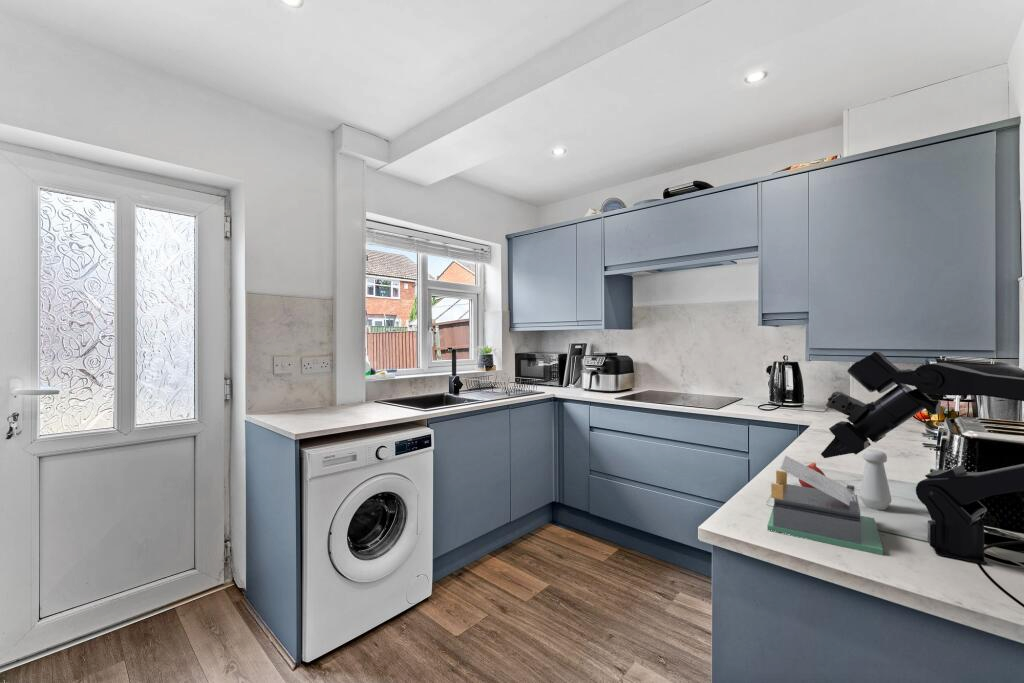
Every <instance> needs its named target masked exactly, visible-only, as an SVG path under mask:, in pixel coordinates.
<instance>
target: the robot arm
mask: <svg viewBox="0 0 1024 683" xmlns="http://www.w3.org/2000/svg"><path fill="white" fill-rule="evenodd" d="M846 372H847V373H848V374H849V375H850V376H851V377H852V378H853V379H854V380H856V381H857V382H858V383H859V384H860V385H861V386H862V387H863V388H864V389H865V390H867V391H868V392H869V393H874V392H877V393H878V394H882V393H885V392H886V393H885V394H883V395H882V396H881V397H879V398H878V399H876V400H874V401H871V402H869V403H864V402H862V401H861V400H858V399H856V398H854V397H853V396H850V395H848V394H845V393H843V392H840V391H835V392H832V394H831V396H830V397H828V398H827V403H826V404H825V407H827V408H829V409H833V410H834V411H838V412H839V413H842V415H846V416H847V417H846V420H848V421H843V420H841V421H839V422H836V423H835V424H833V425H832V426H831V427H829V428H828V430H829V431H830V433H832V435H833V436H834V438H833V439H832V440H831V441H830V443H828V445H827V446H826V447H825V448H824V450H823V451H822V452H821V453H820V455H821V457H823V459H828V458H829V459H830V458H834V457H839V456H845V455H850V454H854V455H858V454H859V453H861V452H864V451H865V450H867V448H868V447H870V446H871V445H872V443H874V444H875V443H877V442H879V441H880V440H882V439H884V438H885V437H886V436H887V435H888V433H890V432H891V431H893V430H894V429H896V428H898V427H899V426H900V425H902V424H904V423H906V422H907V421H908V420H910V419H911V418H913V417H915V416H916V415H917V414H919V413H920V412H922V411H924V410H926V411H928V412H929V413H930V414H931V415H939V414H941V413H942V412H941V411H942V410H941V403H942V400H940V399H932V398H931V397H929V395H931V396H983V397H992V398H997V399H998V398H999V399H1005V400H1012V401H1020V402H1024V377H1020V376H1019V377H1017V376H1009V375H999V374H991V373H987V372H983V371H979V370H975V369H973V368H968V367H966V366H965V367H964V366H960V365H956V364H951V363H947V362H936V363H934V362H933V363H926V364H922V365H920V366H918V367H916V368H915V369H914V370H913V369H910V368H909V369H908V368H907V369H900V368H899V367H897V366H896V365H895V364H893V363H892V362H891V361H890V360H889V359H887V358H886V356H885V355H884V354H883V353H881V351H873V352H872V353H871V354H870V355H867V356H866V357H864V358H861V359H860V360H858V361H855V362H854V363H853V364H852V365H851V366H850V367H849V368H848V369H847V370H846ZM895 385H896V386H895ZM894 386H895V387H894ZM909 386H912V387H915V389H912V388H911V387H909ZM889 389H890V390H889ZM888 390H889V391H888ZM887 391H888V392H887ZM886 434H887V435H886ZM870 441H871V442H872V443H871V442H870ZM924 476H925V478H924V479H922V480H920V481H918V482H917V484H916V487H915V494H916V497H917V499H918V500H919V501H920V502H921V503H922V505H924V506H925V507H926V510H927V512H928V514H929V516H930V519H928V520H927V542H928V544H929V546H930V547H931V548H932V549H933V551H934V553H935V554H936V555H938V556H942V557H948V558H953V559H958V560H962V561H967V562H972V563H978V564H981V563H982V565H988V562H989V561H988V560H987V558H986V557H985V525H984V524H983V522H982V521H980V519H983V518H984V516H985V515H986V512H987V511H988V508H987V507H986V506H985V505H984V504H982V503H981V502H980V501H981V500H982V499H985V498H988V497H991V496H998V495H1004V494H1011V493H1016V492H1023V491H1024V463H1020V464H1016V465H1011V466H1006V467H1001V468H996V469H991V470H986V471H979V472H978V471H977V472H976V471H975V472H974V471H966V468H965V466H964V465H963V464H961V465H958V466H955V467H953V468H950V469H937V470H934V471H932V472H930V473H927V474H925V475H924Z"/></svg>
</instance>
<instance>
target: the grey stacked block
mask: <svg viewBox="0 0 1024 683" xmlns="http://www.w3.org/2000/svg"><path fill="white" fill-rule="evenodd" d="M787 474H788V473H787V472H786V471H784V470H777V469H776V471H775V479H776V480H775V482H776V483H773V482H772V483H770V484H771V491H770V492H771V495H770V496H771V499H773V502H774V503H773V507H772V509H773V526H775V527H780V528H784V529H789V530H794V531H799V532H804V533H808V534H813V535H818V536H823V537H828V538H832V539H837V540H842V541H847V542H852V543H856V544H861V519H860V516H861V511H860V505H859V501H858V495H857V494H855V497H856V501H850V500H849V502H850V506H849V505H847V504H845V503H843V502H841V501H839V500H838V499H836V498H834V497H832V496H830V495H828V494H826V493H825V492H823V491H821V490H819V489H815V488H809V487H802V486H801V485H795V484H789V483H788V482H787V481H788V475H787ZM787 483H788V484H787ZM846 487H847V488H849V489H853V490H854V491H855V485H850V484H847V485H846Z"/></svg>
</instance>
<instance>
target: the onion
mask: <svg viewBox="0 0 1024 683" xmlns="http://www.w3.org/2000/svg"><path fill="white" fill-rule="evenodd" d="M806 466H807V467H809V468H811V469H813V470H815V471H816V472H818V473H820V474H822V475H824V476H826V474H825V473H824V471H822V470H821V469H820V468H819V467H818V466H817V463H816V462H810V464H809V465H806ZM798 483H799V484H800V486H802V487H809V488H815V487H813V486H812V485H810V484H808V483H806V482H804V481H802V480H800V479H799V478H798ZM815 489H817V488H815Z"/></svg>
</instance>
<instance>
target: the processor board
mask: <svg viewBox="0 0 1024 683" xmlns="http://www.w3.org/2000/svg"><path fill="white" fill-rule="evenodd" d="M771 510H772V511H771V513H770V516H769V520H768V523H767V531H768V530H772V531H771V532H773V531H776V532H775V533H777V532H781V533H780V534H782V533H786V534H785V535H787V534H790V535H789V536H791V535H794V536H793V537H796V536H798V537H797V538H801V537H802V538H801V539H805V538H807V539H806V540H810V539H811V540H812V541H815V540H816V542H819V541H820V543H825V544H828V543H829V544H830V545H834V546H840V547H843V548H847V549H852V550H856V551H862V552H866V553H871V554H876V555H879V556H880V555H881V556H883V555H884V548H883V544H882V542H881V539H880V534H879V531H878V527H877V523H876V520H875V518H874V517H870V516H865V515H860V519H861V544H856V543H852V542H847V541H842V540H837V539H832V538H828V537H823V536H818V535H813V534H808V533H804V532H799V531H794V530H789V529H784V528H780V527H775V526H773V508H772V509H771ZM829 544H828V545H829Z"/></svg>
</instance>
